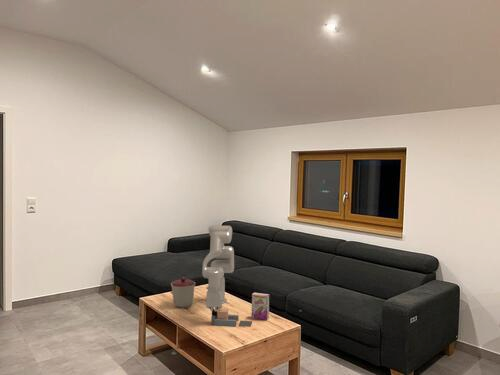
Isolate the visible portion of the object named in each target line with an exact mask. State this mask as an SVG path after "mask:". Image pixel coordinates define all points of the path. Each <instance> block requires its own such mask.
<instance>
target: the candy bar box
mask: <svg viewBox="0 0 500 375" xmlns="http://www.w3.org/2000/svg"><path fill="white" fill-rule="evenodd" d="M269 318H270V294H268V293H260V292H253V293H252V294H251V319H256V320H262V321H263V320H264V321H267V320H268V319H269Z"/></svg>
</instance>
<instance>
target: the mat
mask: <svg viewBox="0 0 500 375" xmlns="http://www.w3.org/2000/svg"><path fill="white" fill-rule="evenodd" d="M252 324H253V320H240V321H239V324H238V327H245V328H247V327H248V328H250V327H252Z"/></svg>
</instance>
